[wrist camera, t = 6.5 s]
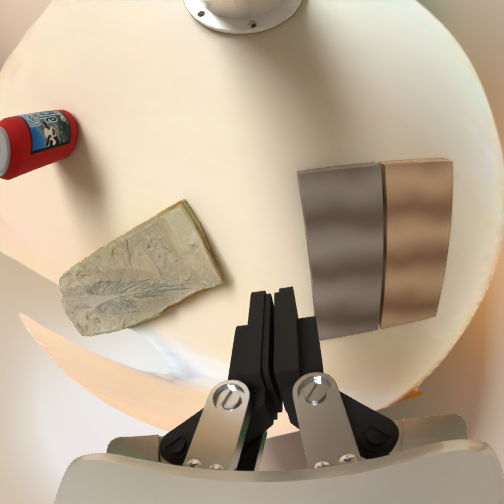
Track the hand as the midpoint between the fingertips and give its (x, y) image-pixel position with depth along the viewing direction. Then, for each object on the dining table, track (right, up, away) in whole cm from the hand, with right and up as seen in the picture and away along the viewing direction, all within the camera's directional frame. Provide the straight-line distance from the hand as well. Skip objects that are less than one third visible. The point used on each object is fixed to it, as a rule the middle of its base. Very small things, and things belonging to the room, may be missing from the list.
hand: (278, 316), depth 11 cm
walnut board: (+19, +3, +20) cm, 28 cm away
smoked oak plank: (+10, +2, +21) cm, 23 cm away
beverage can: (-25, +18, +16) cm, 35 cm away
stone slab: (-19, -1, +26) cm, 32 cm away
